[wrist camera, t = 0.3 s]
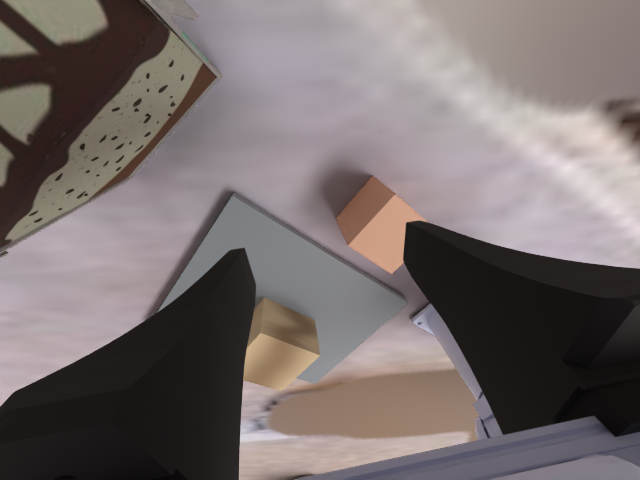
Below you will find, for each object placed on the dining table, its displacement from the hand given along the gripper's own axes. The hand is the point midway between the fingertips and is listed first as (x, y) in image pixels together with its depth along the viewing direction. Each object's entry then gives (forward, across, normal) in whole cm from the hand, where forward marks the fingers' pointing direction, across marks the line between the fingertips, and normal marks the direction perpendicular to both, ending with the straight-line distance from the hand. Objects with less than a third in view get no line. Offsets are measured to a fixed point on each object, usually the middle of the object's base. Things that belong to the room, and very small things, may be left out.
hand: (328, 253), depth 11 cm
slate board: (+9, +4, +12) cm, 16 cm away
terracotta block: (+9, -5, +3) cm, 11 cm away
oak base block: (+9, +6, +13) cm, 17 cm away
